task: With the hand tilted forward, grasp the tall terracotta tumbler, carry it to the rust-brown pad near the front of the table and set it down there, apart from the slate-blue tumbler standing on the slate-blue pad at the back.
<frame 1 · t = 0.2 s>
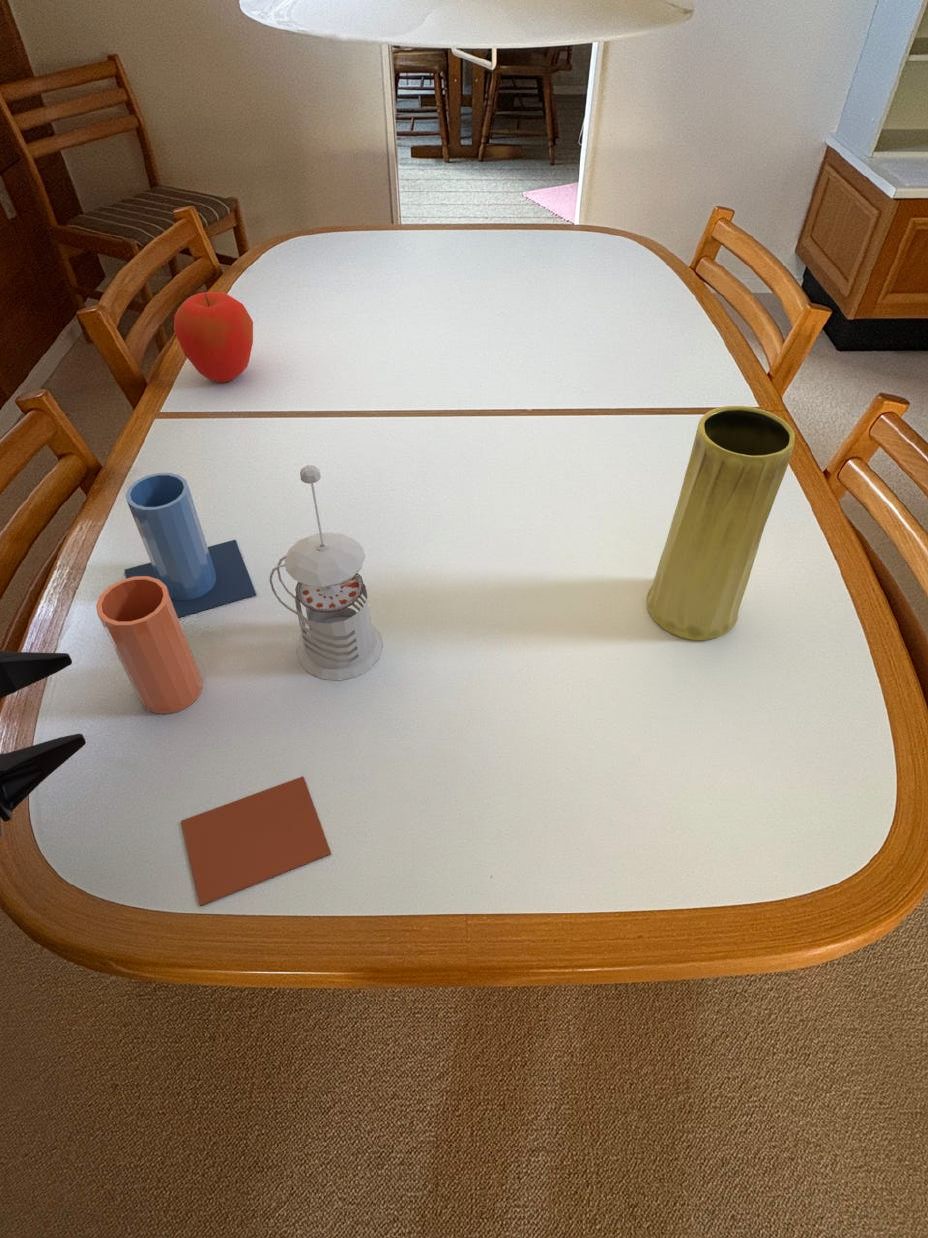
hand: (77, 696, 65), 16 cm above the table, tool horizontal, fingers open, 9 cm apart
blue tumbler: (189, 581, 97), resting on blue pad
apple: (226, 377, 130), on the table
clay pad: (255, 837, 74), on the table
french press: (333, 646, 90), on the table
terracotta tumbler: (171, 689, 86), on the table
blue pad: (189, 582, 97), on the table
vase: (690, 609, 94), on the table
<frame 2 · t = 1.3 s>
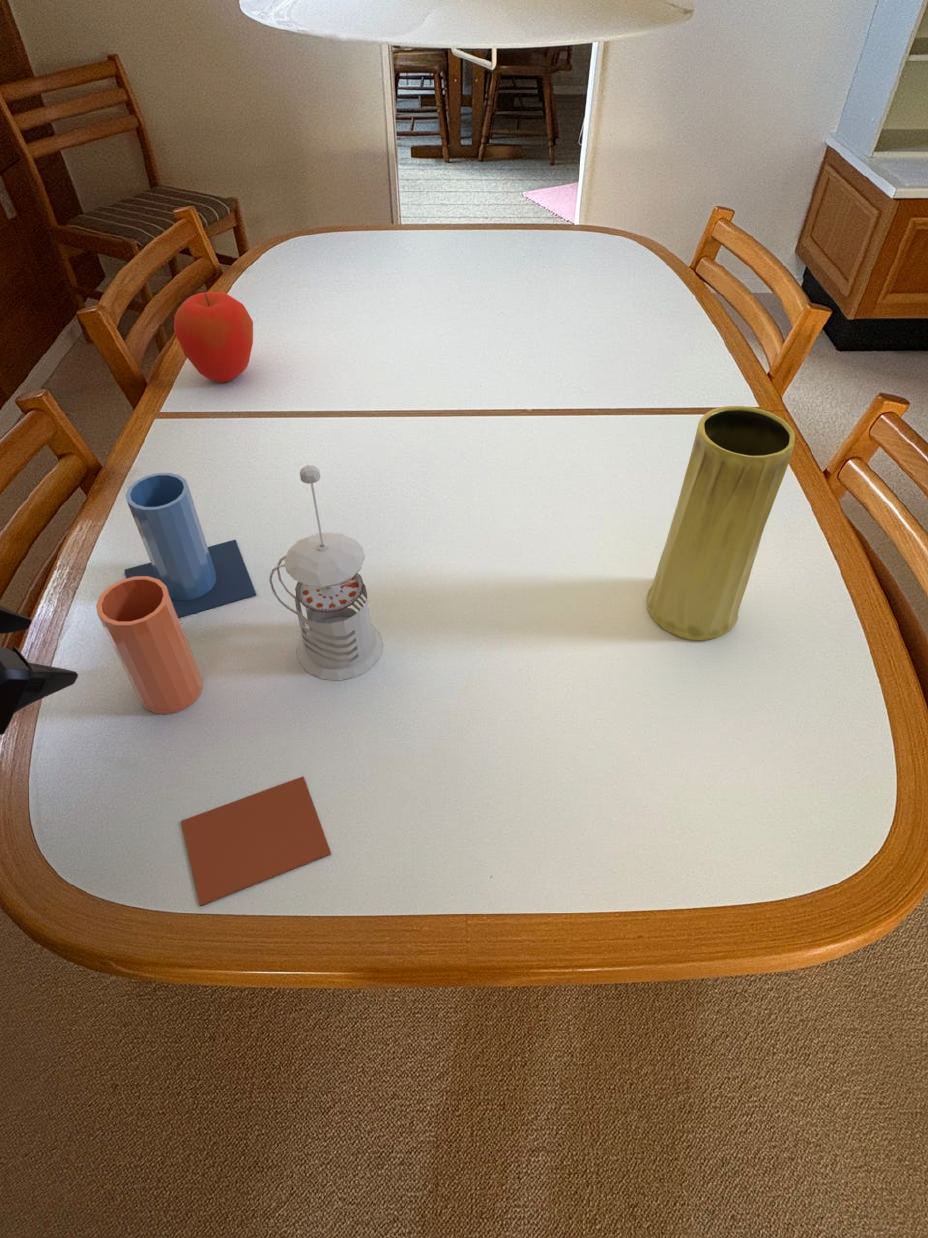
hand: (51, 650, 72), 13 cm above the table, tool tilted 45°, fingers open, 9 cm apart
nothing on the table moved.
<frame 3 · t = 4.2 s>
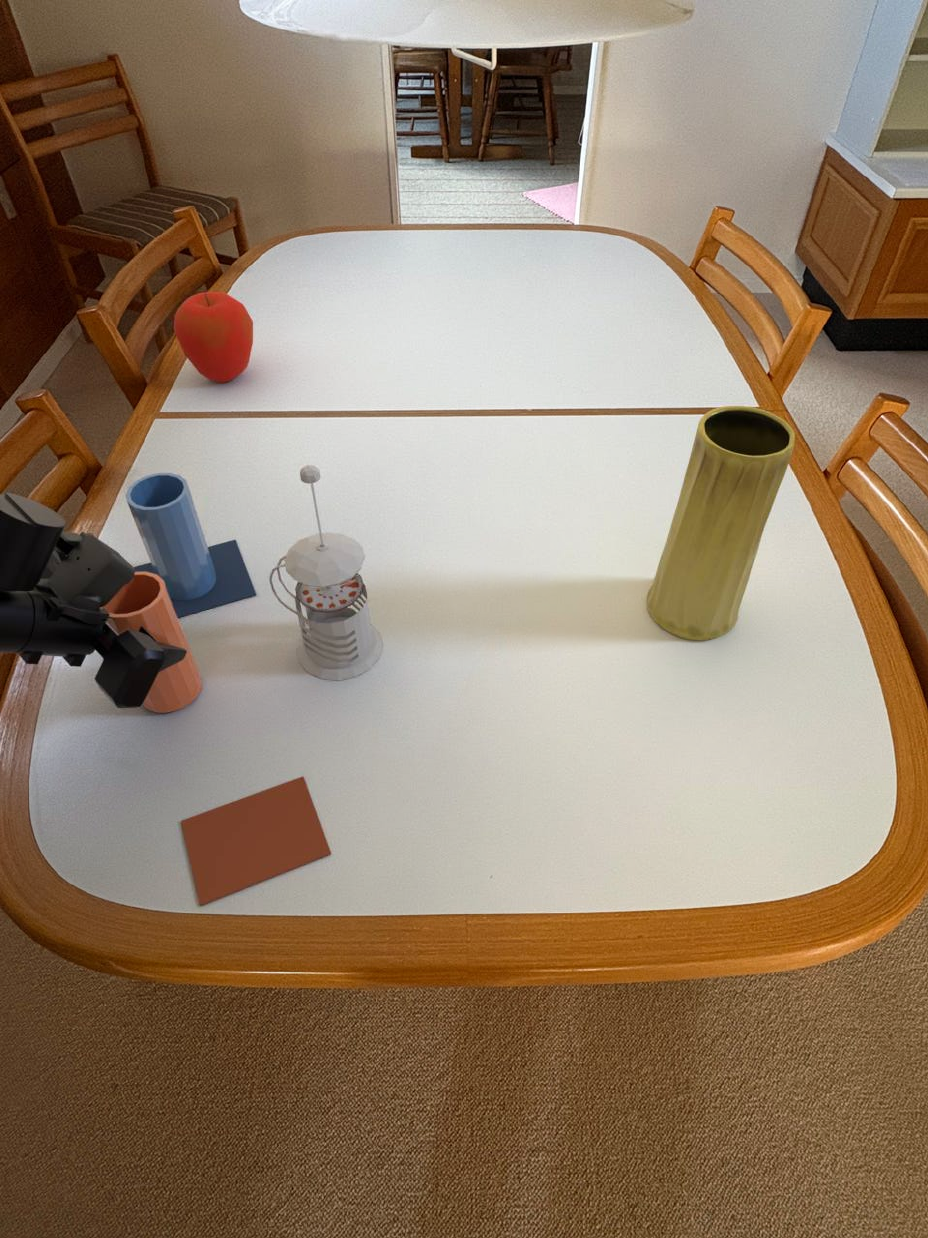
hand: (165, 635, 81), 7 cm above the table, tool tilted 45°, fingers closed on terracotta tumbler, 7 cm apart
terracotta tumbler: (171, 689, 85), on the table, touching gripper
everything else where it was.
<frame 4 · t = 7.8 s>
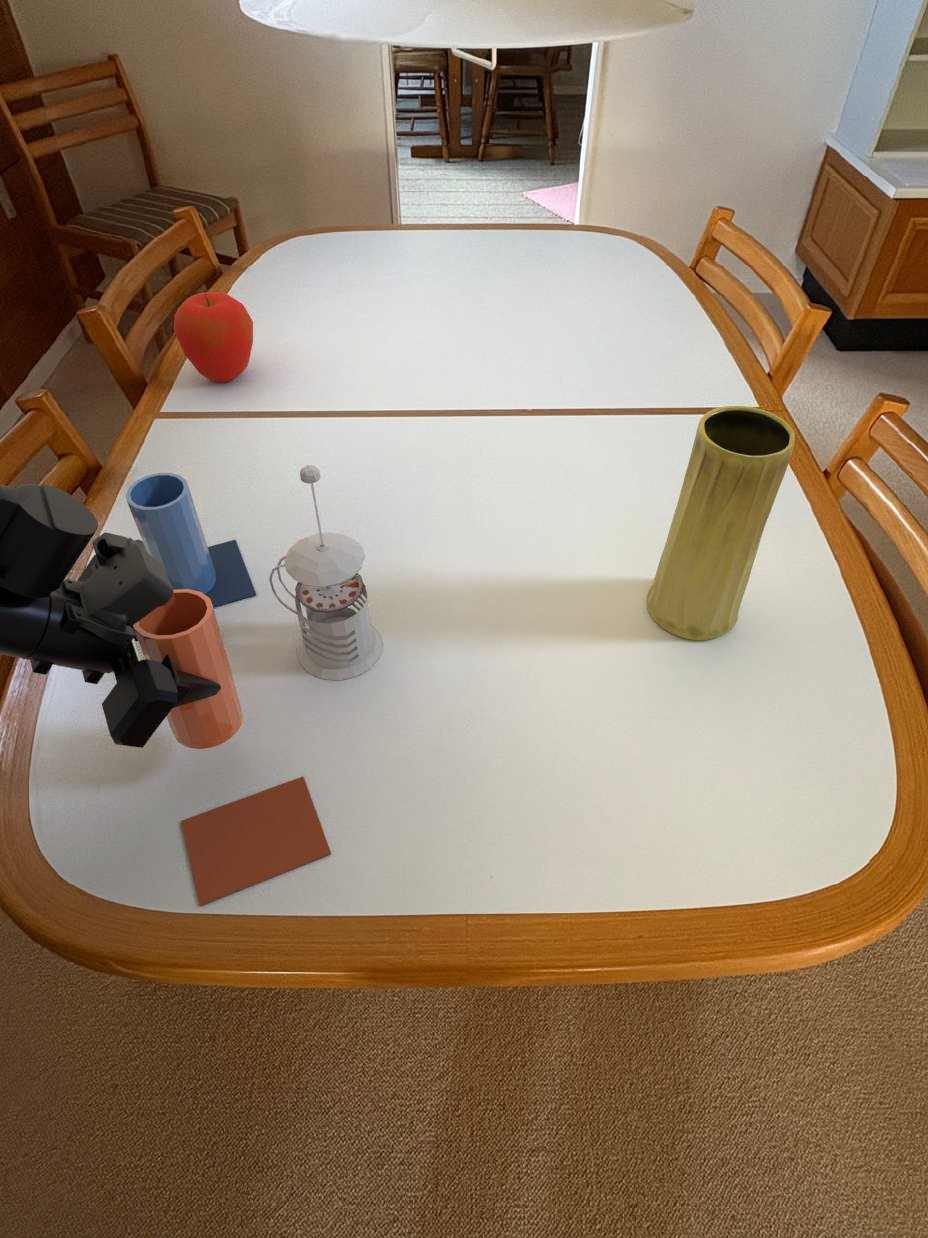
hand: (207, 663, 72), 12 cm above the table, tool tilted 45°, fingers closed on terracotta tumbler, 7 cm apart
terracotta tumbler: (208, 722, 76), point 5 cm above the table, tilted 6°, touching gripper
everything else where it was.
when the fingers open (8 cm above the table, at t = 11.5 s): terracotta tumbler stays where it is, resting on clay pad.
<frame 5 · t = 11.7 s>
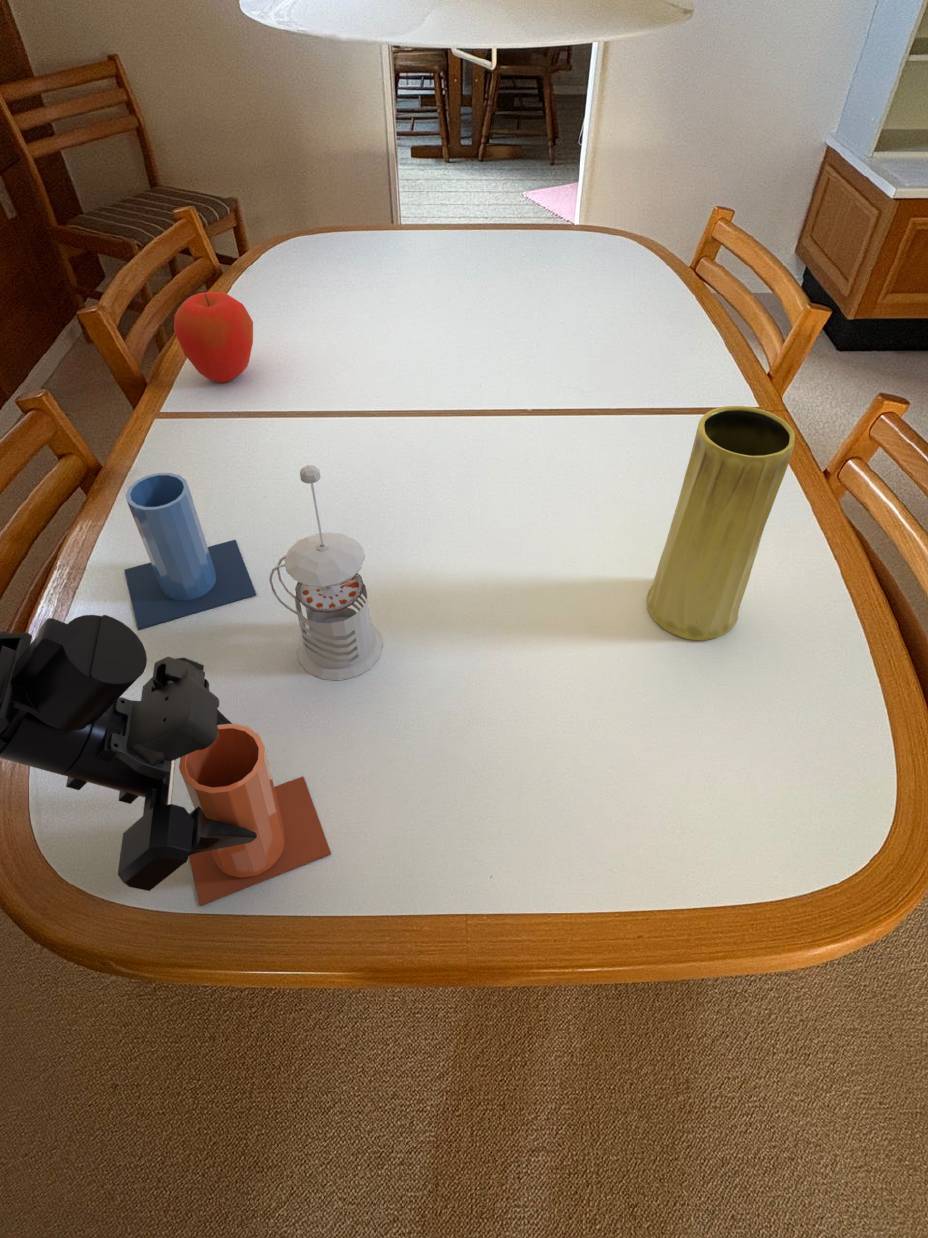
hand: (254, 792, 68), 8 cm above the table, tool tilted 45°, fingers open, 8 cm apart
terracotta tumbler: (249, 844, 73), resting on clay pad, touching gripper
everything else where it was.
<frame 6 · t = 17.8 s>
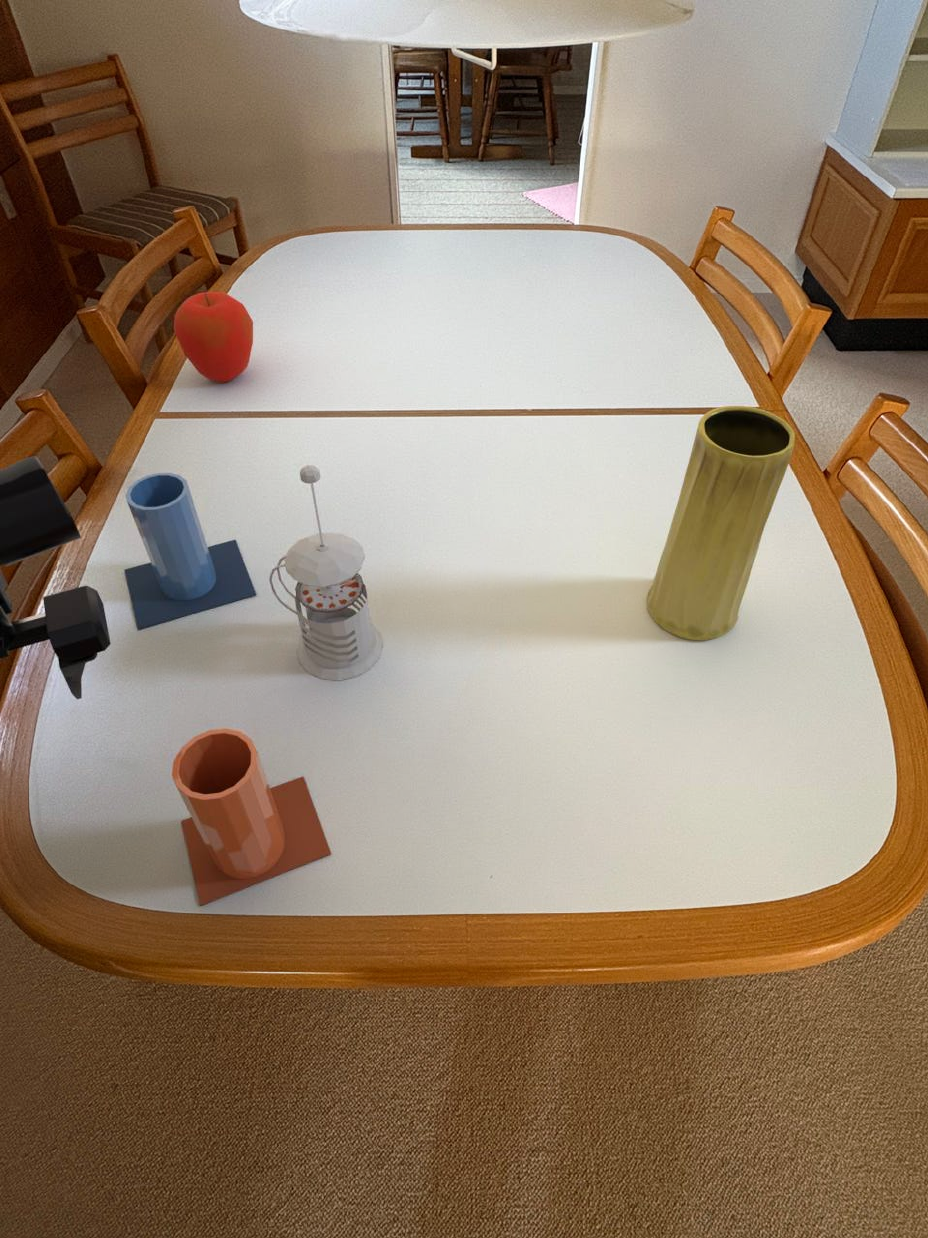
hand: (23, 712, 69), 12 cm above the table, tool pointing down, fingers open, 9 cm apart
terracotta tumbler: (249, 845, 73), resting on clay pad
everything else where it was.
at the end: terracotta tumbler inside the target area on the clay pad (0.9 cm from its centre), point 0.2 cm above the clay pad's base; terracotta tumbler tilted 0°; blue tumbler inside the target area on the blue pad (0.0 cm from its centre), point 0.2 cm above the blue pad's base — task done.
